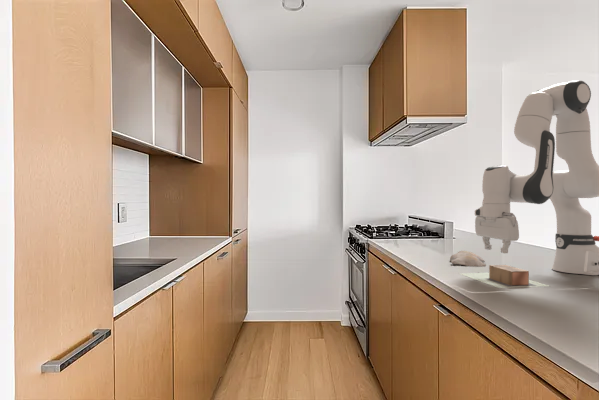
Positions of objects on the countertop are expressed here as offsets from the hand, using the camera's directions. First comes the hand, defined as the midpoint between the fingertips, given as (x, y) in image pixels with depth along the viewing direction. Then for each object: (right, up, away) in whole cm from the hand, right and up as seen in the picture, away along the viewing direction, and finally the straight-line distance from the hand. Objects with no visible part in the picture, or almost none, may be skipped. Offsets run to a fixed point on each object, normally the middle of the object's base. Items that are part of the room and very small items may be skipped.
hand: (495, 251), depth 145 cm
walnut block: (0, -7, -1) cm, 7 cm away
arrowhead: (+6, -10, +40) cm, 41 cm away
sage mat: (0, -10, -3) cm, 10 cm away
